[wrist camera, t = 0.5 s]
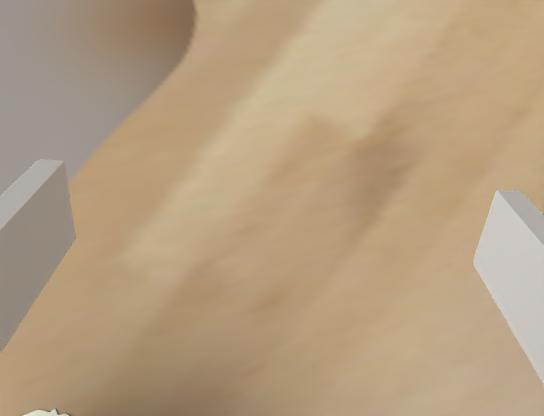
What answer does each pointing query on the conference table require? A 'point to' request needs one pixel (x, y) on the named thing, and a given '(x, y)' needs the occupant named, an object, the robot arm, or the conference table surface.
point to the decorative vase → (44, 413)
